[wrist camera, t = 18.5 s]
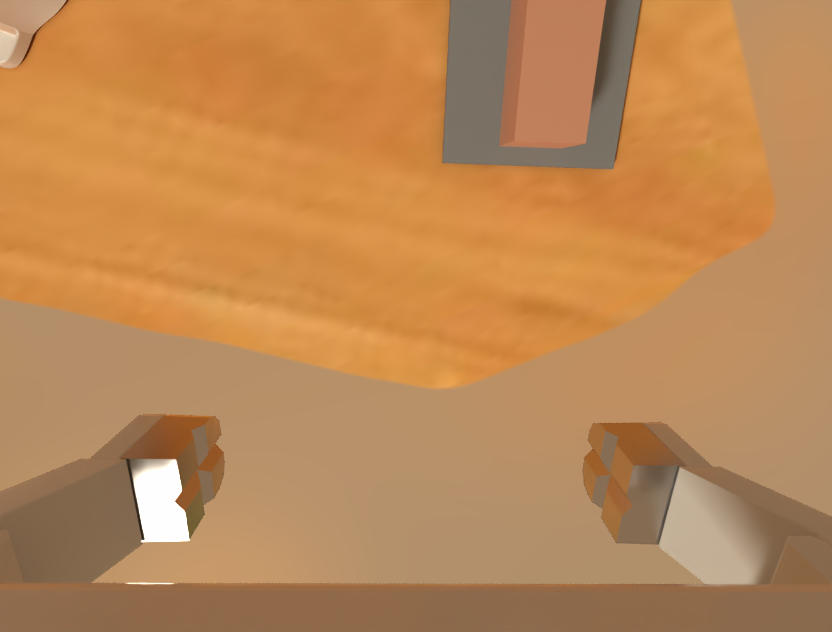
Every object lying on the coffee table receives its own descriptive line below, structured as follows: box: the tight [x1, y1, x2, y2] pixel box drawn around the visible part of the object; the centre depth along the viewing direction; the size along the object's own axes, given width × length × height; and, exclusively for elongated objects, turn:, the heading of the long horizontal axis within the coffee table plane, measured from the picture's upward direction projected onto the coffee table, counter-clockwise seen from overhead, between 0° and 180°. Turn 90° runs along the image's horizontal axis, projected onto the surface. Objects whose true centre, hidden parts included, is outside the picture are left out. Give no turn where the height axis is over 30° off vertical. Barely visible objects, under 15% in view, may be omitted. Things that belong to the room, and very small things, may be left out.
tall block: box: [499, 0, 606, 149], centre depth 30 cm, size 5×5×12 cm
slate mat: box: [442, 0, 641, 169], centre depth 33 cm, size 14×16×1 cm
